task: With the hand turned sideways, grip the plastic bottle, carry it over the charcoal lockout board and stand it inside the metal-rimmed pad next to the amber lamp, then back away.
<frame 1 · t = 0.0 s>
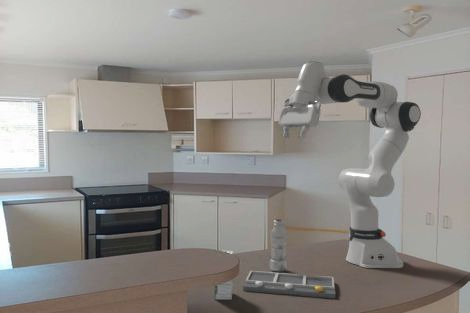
hand: (293, 137, 145), 52 cm above the counter, tool tilted 20°, fingers open, 8 cm apart
syrup box: (224, 297, 129), on the counter
plastic bottle: (278, 271, 153), on the counter
lockout board: (289, 286, 137), on the counter
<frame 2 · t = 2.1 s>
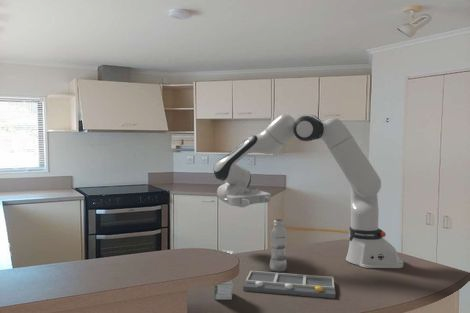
hand: (259, 201, 162), 26 cm above the counter, tool horizontal, fingers open, 8 cm apart
nothing on the counter moved.
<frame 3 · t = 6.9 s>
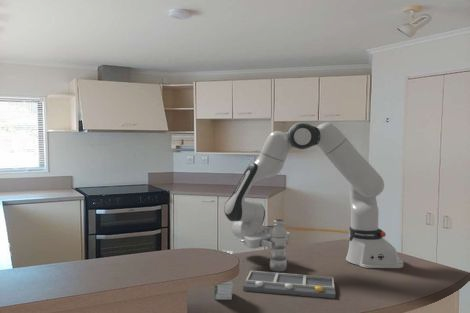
hand: (280, 243, 152), 11 cm above the counter, tool horizontal, fingers closed on plastic bottle, 6 cm apart
plastic bottle: (278, 271, 153), on the counter, touching gripper
everything else where it was.
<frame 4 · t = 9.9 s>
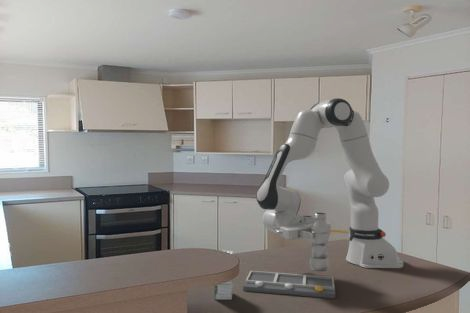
hand: (321, 234, 135), 19 cm above the counter, tool horizontal, fingers closed on plastic bottle, 6 cm apart
plastic bottle: (319, 271, 136), point 6 cm above the counter, touching gripper
everything else where it was.
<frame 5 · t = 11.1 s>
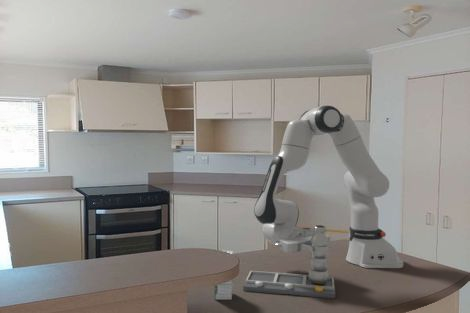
hand: (321, 248, 135), 14 cm above the counter, tool horizontal, fingers closed on plastic bottle, 6 cm apart
plastic bottle: (318, 283, 136), point 1 cm above the counter, touching gripper, lockout board
everything else where it was.
when the fingers open (14 cm above the counter, at t = 11.9 s): plastic bottle stays where it is, resting on lockout board.
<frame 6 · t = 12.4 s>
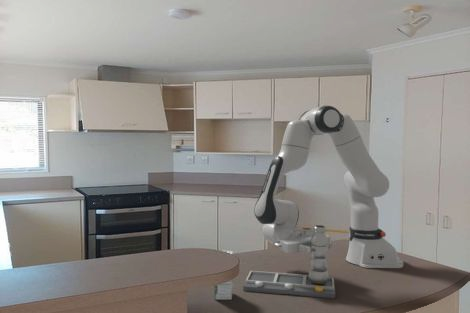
hand: (321, 248, 135), 14 cm above the counter, tool horizontal, fingers open, 8 cm apart
plastic bottle: (318, 283, 136), point 1 cm above the counter, touching lockout board
everything else where it was.
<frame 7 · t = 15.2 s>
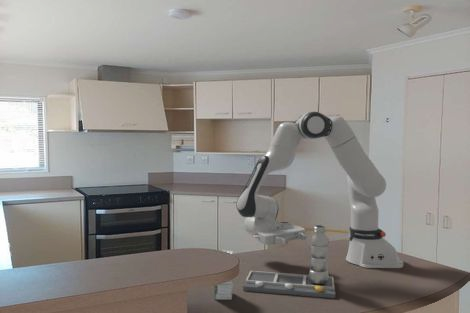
hand: (295, 239, 146), 14 cm above the counter, tool horizontal, fingers open, 8 cm apart
nothing on the counter moved.
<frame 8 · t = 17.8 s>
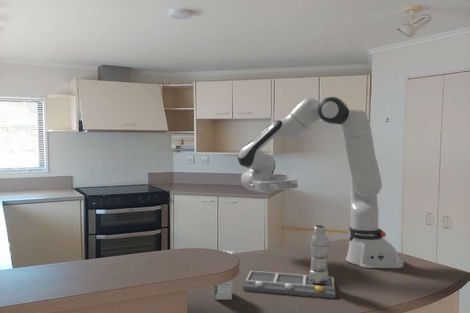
hand: (287, 186, 160), 32 cm above the counter, tool horizontal, fingers open, 8 cm apart
nothing on the counter moved.
at the end: plastic bottle inside the target area on the lockout board (0.1 cm from its centre), point 1.3 cm above the lockout board's base; plastic bottle tilted 0°; the gripper is holding nothing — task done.
